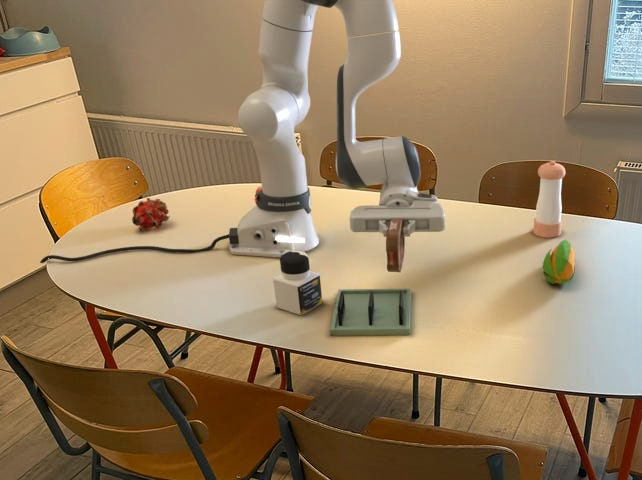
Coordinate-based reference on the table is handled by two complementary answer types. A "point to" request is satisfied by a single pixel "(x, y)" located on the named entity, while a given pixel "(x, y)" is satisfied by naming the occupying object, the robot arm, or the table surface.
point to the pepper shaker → (549, 201)
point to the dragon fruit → (150, 214)
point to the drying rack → (371, 312)
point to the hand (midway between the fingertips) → (396, 233)
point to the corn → (559, 263)
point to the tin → (395, 245)
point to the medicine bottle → (297, 284)
